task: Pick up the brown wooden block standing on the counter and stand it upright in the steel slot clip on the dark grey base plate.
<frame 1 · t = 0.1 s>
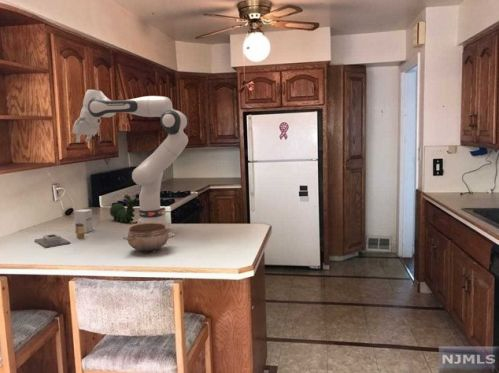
hand: (82, 142, 238), 52 cm above the worktop, tool tilted 20°, fingers open, 8 cm apart
brown wooden block: (80, 238, 232), on the worktop
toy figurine: (122, 221, 277), on the worktop
cooking pot: (148, 251, 203), on the worktop
supplement box: (84, 231, 250), on the worktop
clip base: (52, 242, 225), on the worktop
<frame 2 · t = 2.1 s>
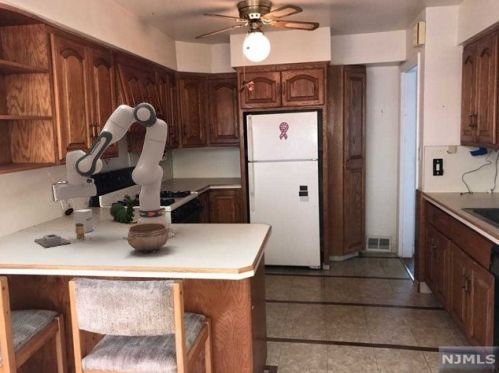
hand: (77, 206, 230), 18 cm above the worktop, tool pointing down, fingers open, 8 cm apart
nothing on the worktop moved.
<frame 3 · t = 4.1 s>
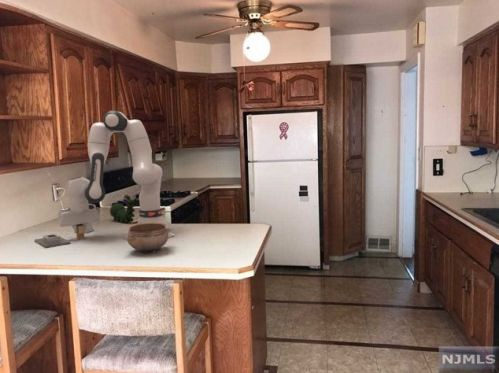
hand: (80, 232, 232), 4 cm above the worktop, tool pointing down, fingers closed on brown wooden block, 2 cm apart
brown wooden block: (80, 238, 232), on the worktop, touching gripper
everything else where it was.
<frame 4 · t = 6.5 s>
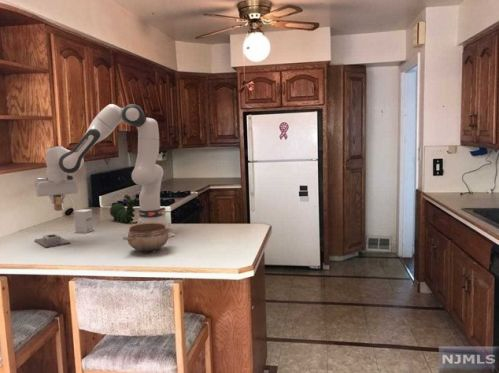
hand: (57, 203, 225), 20 cm above the worktop, tool pointing down, fingers closed on brown wooden block, 2 cm apart
brown wooden block: (58, 209, 225), point 17 cm above the worktop, touching gripper
everything else where it was.
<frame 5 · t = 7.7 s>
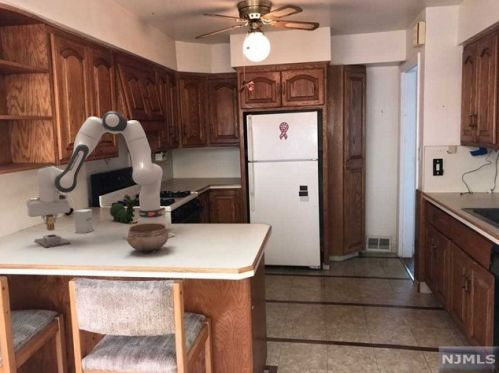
hand: (50, 223, 224), 10 cm above the worktop, tool pointing down, fingers closed on brown wooden block, 2 cm apart
brown wooden block: (50, 229, 224), point 7 cm above the worktop, touching gripper
everything else where it was.
when the fingers open (6 cm above the worktop, at t = 8.9 s): brown wooden block drops 1 cm, resting on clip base.
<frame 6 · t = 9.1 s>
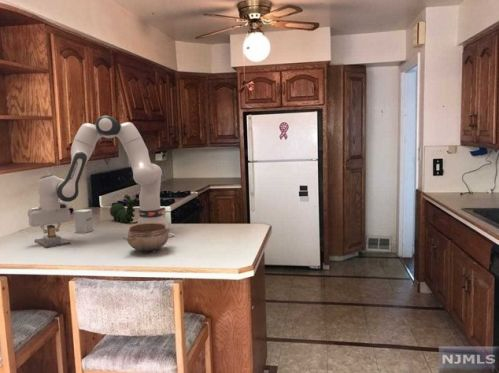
hand: (51, 232, 224), 5 cm above the worktop, tool pointing down, fingers open, 5 cm apart
brown wooden block: (52, 240, 225), point 1 cm above the worktop, touching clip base
everything else where it was.
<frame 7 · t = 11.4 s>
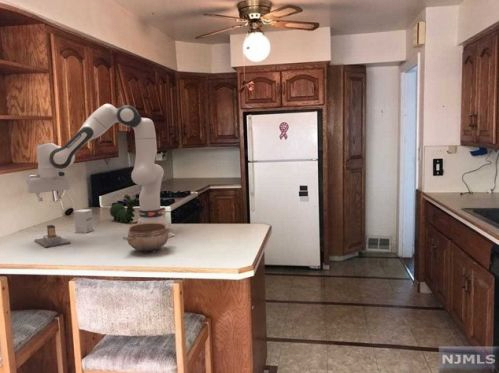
hand: (50, 200, 225), 22 cm above the worktop, tool pointing down, fingers open, 8 cm apart
nothing on the worktop moved.
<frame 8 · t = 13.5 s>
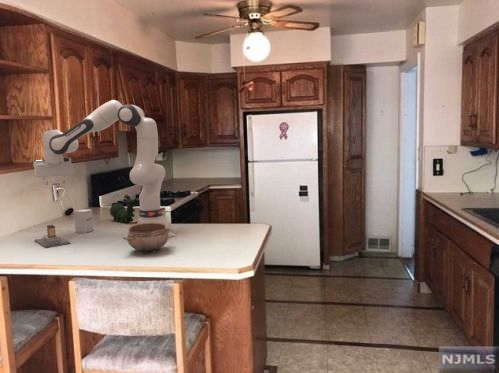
hand: (55, 184, 237), 29 cm above the worktop, tool pointing down, fingers open, 8 cm apart
nothing on the worktop moved.
at the end: brown wooden block 0.1 cm off-centre on the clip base, point 1.0 cm above the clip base's base; brown wooden block tilted 0°; the gripper is holding nothing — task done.
